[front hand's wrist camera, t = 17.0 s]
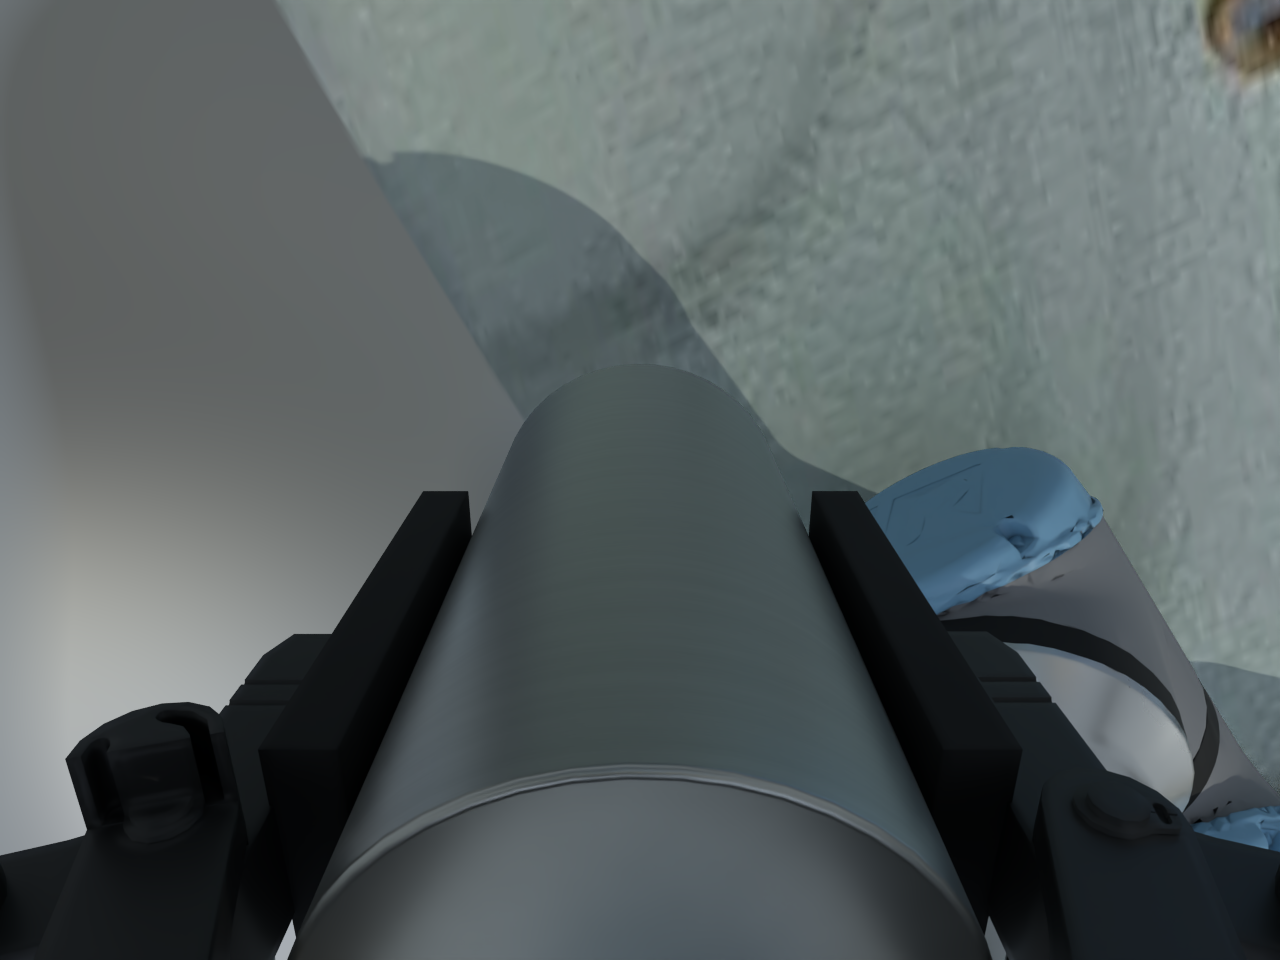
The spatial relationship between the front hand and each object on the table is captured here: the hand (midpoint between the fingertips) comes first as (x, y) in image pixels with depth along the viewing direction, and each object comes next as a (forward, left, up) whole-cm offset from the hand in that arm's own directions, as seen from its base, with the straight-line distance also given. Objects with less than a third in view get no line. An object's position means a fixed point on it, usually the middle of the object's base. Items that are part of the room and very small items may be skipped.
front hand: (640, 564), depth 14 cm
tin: (0, 0, -3) cm, 3 cm away
